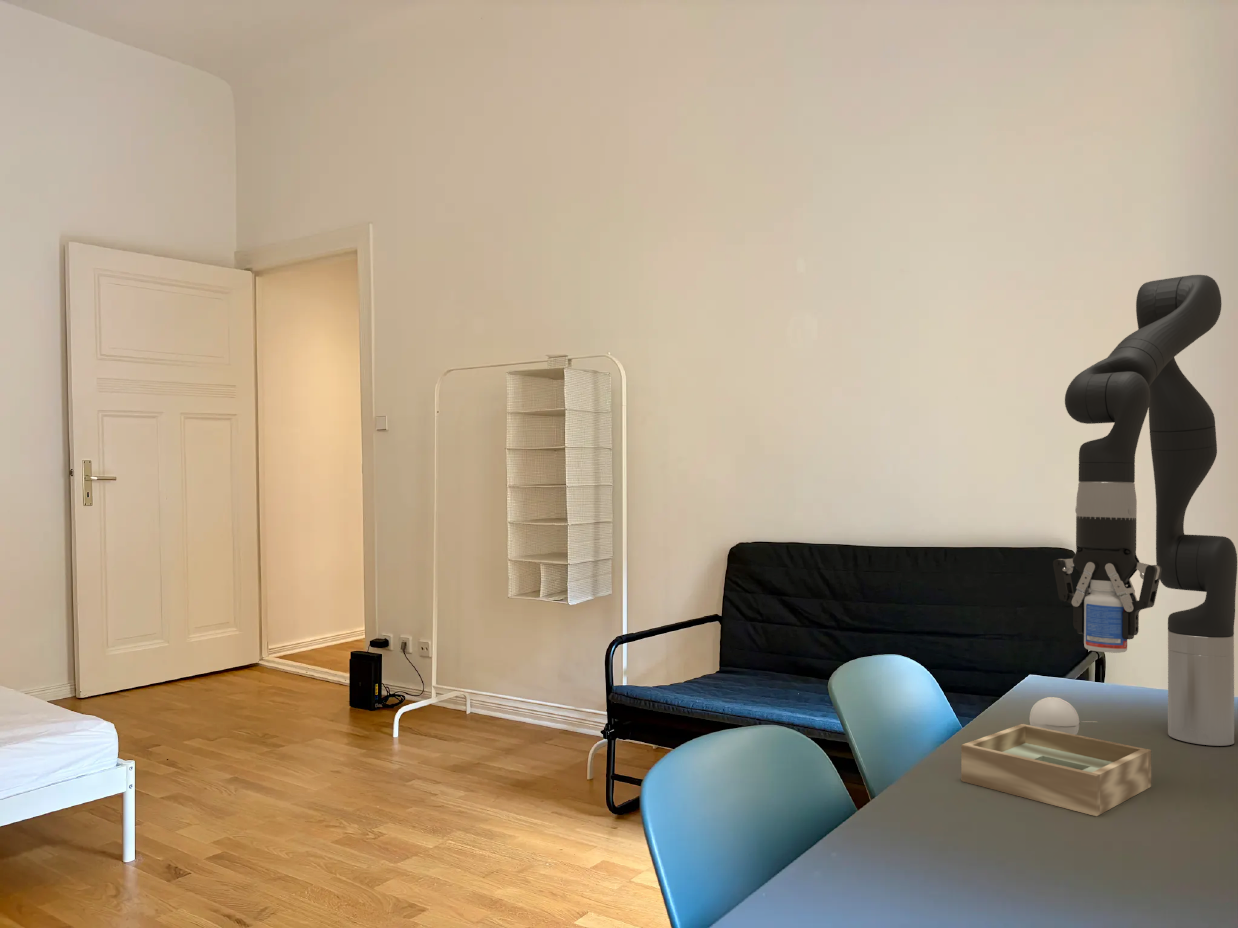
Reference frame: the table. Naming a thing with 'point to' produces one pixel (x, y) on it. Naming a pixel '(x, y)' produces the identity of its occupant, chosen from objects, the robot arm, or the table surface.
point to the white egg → (1055, 715)
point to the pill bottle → (1103, 619)
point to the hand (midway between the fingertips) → (1104, 635)
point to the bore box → (1057, 768)
